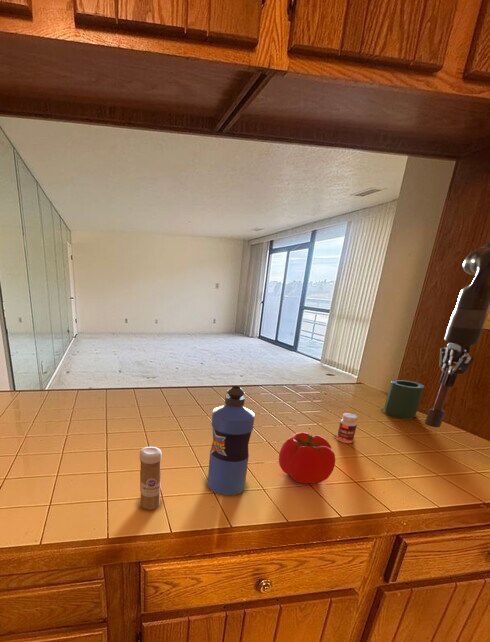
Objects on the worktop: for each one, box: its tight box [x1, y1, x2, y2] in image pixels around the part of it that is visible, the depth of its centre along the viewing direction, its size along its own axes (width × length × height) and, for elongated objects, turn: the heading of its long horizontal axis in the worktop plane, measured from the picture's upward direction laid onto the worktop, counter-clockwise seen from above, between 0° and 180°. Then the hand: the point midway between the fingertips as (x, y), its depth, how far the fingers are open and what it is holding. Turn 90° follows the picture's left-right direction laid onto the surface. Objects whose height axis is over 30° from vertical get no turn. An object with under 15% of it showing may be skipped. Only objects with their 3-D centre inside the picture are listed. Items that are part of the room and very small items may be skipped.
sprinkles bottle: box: [139, 446, 162, 511], centre depth 74 cm, size 5×5×14 cm
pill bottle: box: [336, 412, 359, 444], centre depth 108 cm, size 5×5×8 cm
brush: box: [424, 368, 451, 428], centre depth 105 cm, size 4×4×18 cm
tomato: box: [278, 431, 336, 485], centre depth 87 cm, size 14×13×10 cm
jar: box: [382, 379, 426, 420], centre depth 129 cm, size 10×10×12 cm
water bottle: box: [207, 385, 256, 496], centre depth 80 cm, size 9×9×25 cm
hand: (445, 384), depth 103 cm, fingers closed on brush, 2 cm apart
